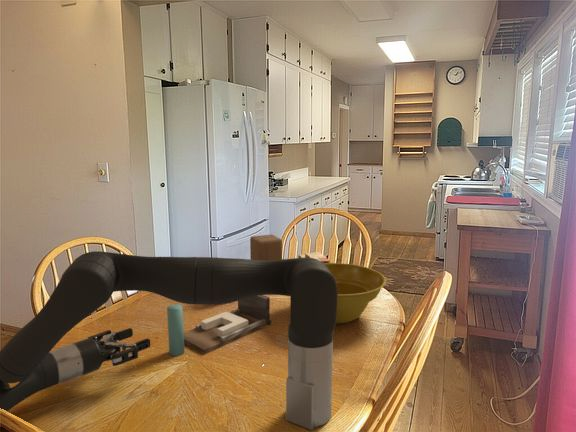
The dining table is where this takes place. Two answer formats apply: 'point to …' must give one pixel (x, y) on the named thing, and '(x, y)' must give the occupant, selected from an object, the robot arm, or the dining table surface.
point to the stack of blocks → (315, 257)
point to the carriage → (224, 323)
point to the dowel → (175, 329)
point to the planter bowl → (354, 289)
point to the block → (265, 247)
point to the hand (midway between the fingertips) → (140, 336)
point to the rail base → (209, 340)
